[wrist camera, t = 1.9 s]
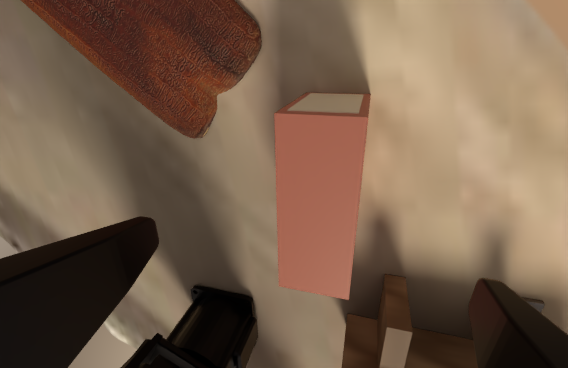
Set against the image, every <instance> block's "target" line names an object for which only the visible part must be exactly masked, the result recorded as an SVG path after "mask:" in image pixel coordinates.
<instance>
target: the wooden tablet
mask: <svg viewBox="0 0 568 368" xmlns="http://www.w3.org/2000/svg"><path fill="white" fill-rule="evenodd" d="M21 1H22V2H23V3H24V4H26V5H27V6H28V7H29V8H30V9H31V10H32V11H33V12H35V13H36V14H37V15H38V16H39V17H40V18H41V19H43V20H44V21H45V22H46V23H47V24H48V25H49V26H50V27H51V28H52V29H54V30H55V31H56V32H57V33H58V34H59V35H60V36H62V37H63V38H64V39H65V40H67V41H68V42H69V43H70V44H71V45H72V46H73V47H74V48H75V49H76V50H78V51H79V52H80V53H81V54H82V55H84V56H85V57H86V58H87V59H88V60H89V61H90V62H92V63H93V64H94V65H95V66H96V67H97V68H99V69H100V70H101V71H102V72H104V73H105V74H106V75H107V76H108V77H110V78H111V79H112V80H113V81H114V82H115V83H117V84H118V85H119V86H120V87H122V88H123V89H124V90H126V91H127V92H128V93H129V94H130V95H132V96H133V97H134V98H135V99H136V100H137V101H139V102H140V103H141V104H142V105H144V106H145V107H146V108H147V109H149V110H150V111H151V112H152V113H154V114H155V115H156V116H158V117H159V118H160V119H162V120H163V121H164V122H165V123H167V124H168V125H169V126H171V127H172V128H174V129H175V130H177V131H179V132H180V133H182V134H183V135H185V136H188V137H190V138H202V137H203V136H204V135H205V134H206V133H207V131H208V129H209V127H210V125H211V122H212V120H213V118H214V116H215V114H216V110H217V95H218V94H220V93H223V92H225V91H227V90H229V89H231V88H232V87H233V86H235V85H236V84H237V83H238V82H239V81H240V80H241V79H242V78H243V76H244V75H245V73H246V72H247V71H248V69H249V68H250V67H251V65H252V63H253V62H254V60H255V59H256V57H257V55H258V52H259V51H260V49H261V42H262V41H261V33H260V30H259V28H258V26H257V24H256V22H255V21H254V20H253V19H252V18H251V17H250V16H249V15H248V14H247V13H246V12H245V11H244V10H243V9H242V8H241V7H240V6H239V5H238V4H237V3H236V2H235V1H234V0H21Z"/></svg>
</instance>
